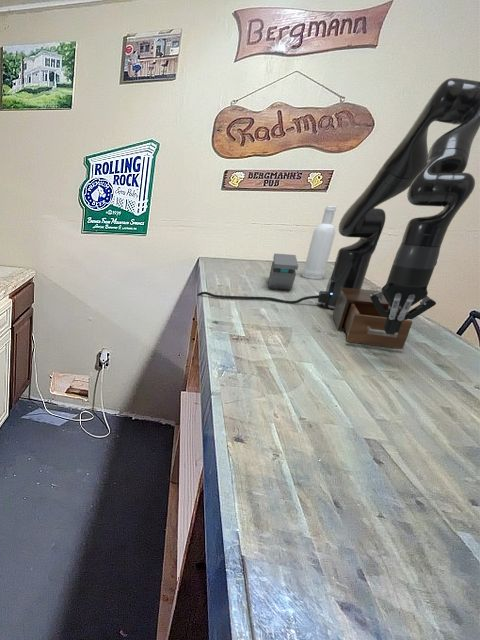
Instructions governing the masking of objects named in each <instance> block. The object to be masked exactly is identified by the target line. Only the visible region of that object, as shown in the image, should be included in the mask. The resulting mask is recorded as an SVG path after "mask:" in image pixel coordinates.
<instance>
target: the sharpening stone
mask: <svg viewBox="0 0 480 640" xmlns="http://www.w3.org/2000/svg"><path fill="white" fill-rule="evenodd" d="M272 259H273V261H272V262H271V267H270V271H269V275H268V276H269V277H268V282H267V283H268V285H267V287H268V288H269V289H276V290H288V291H291V290H292V288H293V285H294V282H295V280H296V275H297V273H296V271H298V268H299V264H298V259H297V256H296V254H286V253H273V257H272Z"/></svg>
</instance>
